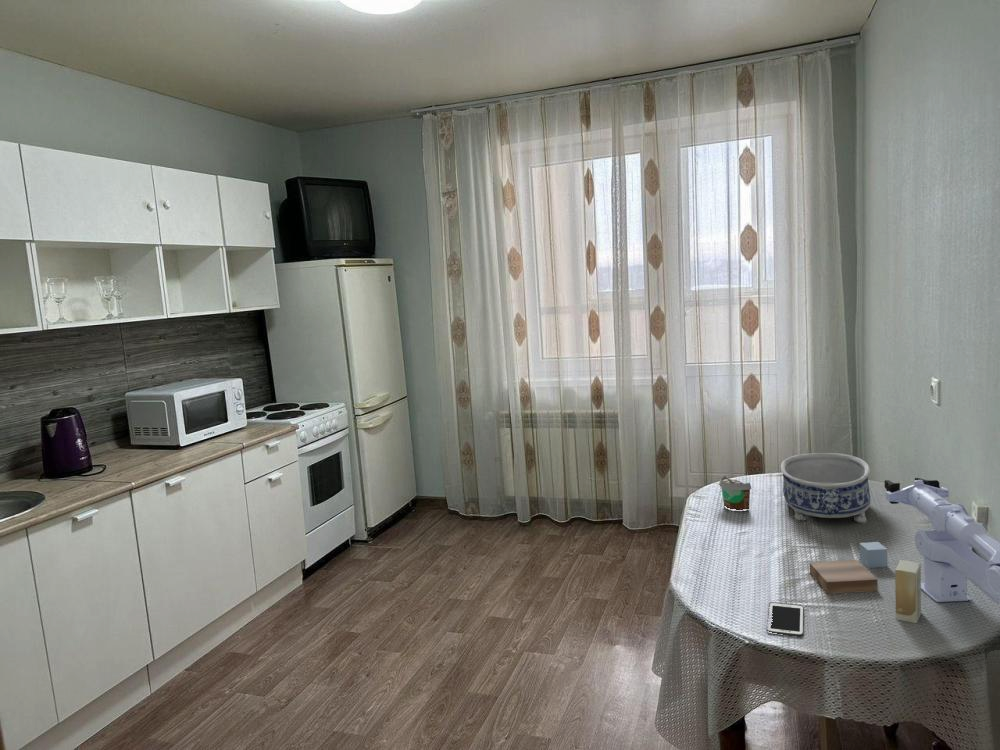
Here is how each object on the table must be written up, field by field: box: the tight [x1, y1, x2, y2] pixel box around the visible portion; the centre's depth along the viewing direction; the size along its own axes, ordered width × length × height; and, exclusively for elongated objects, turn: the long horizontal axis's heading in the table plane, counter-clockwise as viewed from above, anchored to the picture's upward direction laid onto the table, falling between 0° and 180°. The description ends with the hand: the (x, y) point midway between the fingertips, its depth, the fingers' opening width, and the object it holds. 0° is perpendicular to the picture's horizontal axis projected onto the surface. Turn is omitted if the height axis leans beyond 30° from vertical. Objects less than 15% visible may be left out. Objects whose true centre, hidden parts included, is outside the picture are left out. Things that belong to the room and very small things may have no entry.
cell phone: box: [766, 601, 805, 638], centre depth 162 cm, size 8×15×1 cm, turn 156°
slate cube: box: [858, 541, 888, 569], centre depth 187 cm, size 5×5×5 cm
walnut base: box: [809, 559, 879, 594], centre depth 178 cm, size 12×12×3 cm
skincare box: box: [894, 559, 922, 624], centre depth 158 cm, size 6×4×12 cm
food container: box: [718, 475, 752, 510], centre depth 237 cm, size 12×6×10 cm, turn 25°
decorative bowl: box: [780, 452, 871, 524], centre depth 229 cm, size 42×27×15 cm, turn 161°
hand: (900, 482), depth 185 cm, fingers open, 7 cm apart
